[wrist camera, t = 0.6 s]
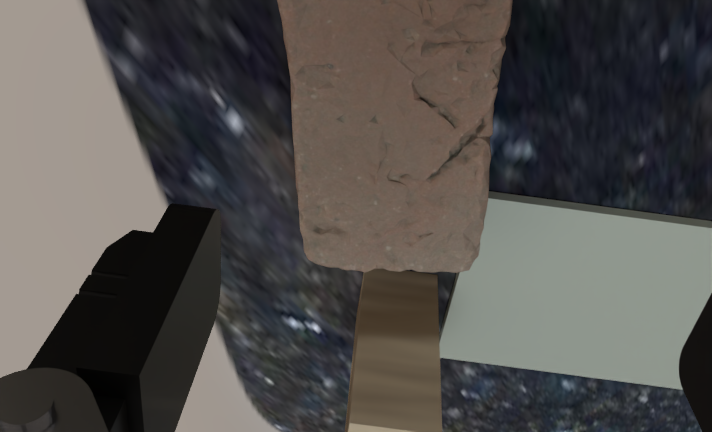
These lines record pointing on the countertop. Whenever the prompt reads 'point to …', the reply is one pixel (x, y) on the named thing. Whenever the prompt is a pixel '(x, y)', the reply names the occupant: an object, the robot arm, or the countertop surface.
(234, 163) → the countertop surface
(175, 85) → the countertop surface
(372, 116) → the brick
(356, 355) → the beech block
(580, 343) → the flat grey rectangular slab
